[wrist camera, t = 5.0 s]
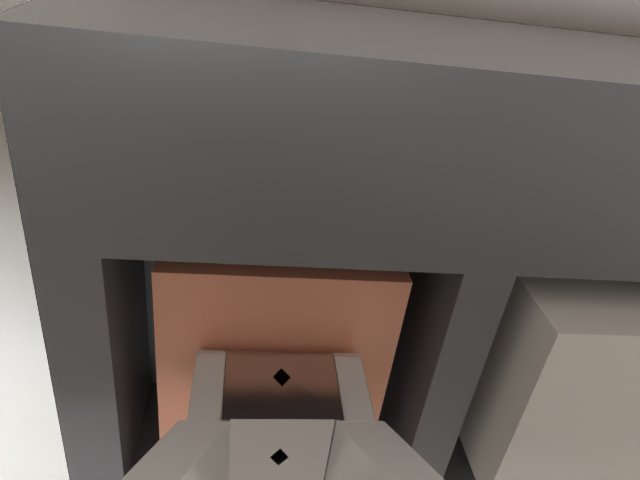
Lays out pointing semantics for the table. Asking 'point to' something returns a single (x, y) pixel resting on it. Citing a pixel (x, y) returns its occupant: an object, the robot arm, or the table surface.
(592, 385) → the key grey
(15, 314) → the table surface
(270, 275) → the key terracotta
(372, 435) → the robot arm
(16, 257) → the table surface
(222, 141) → the keyboard
